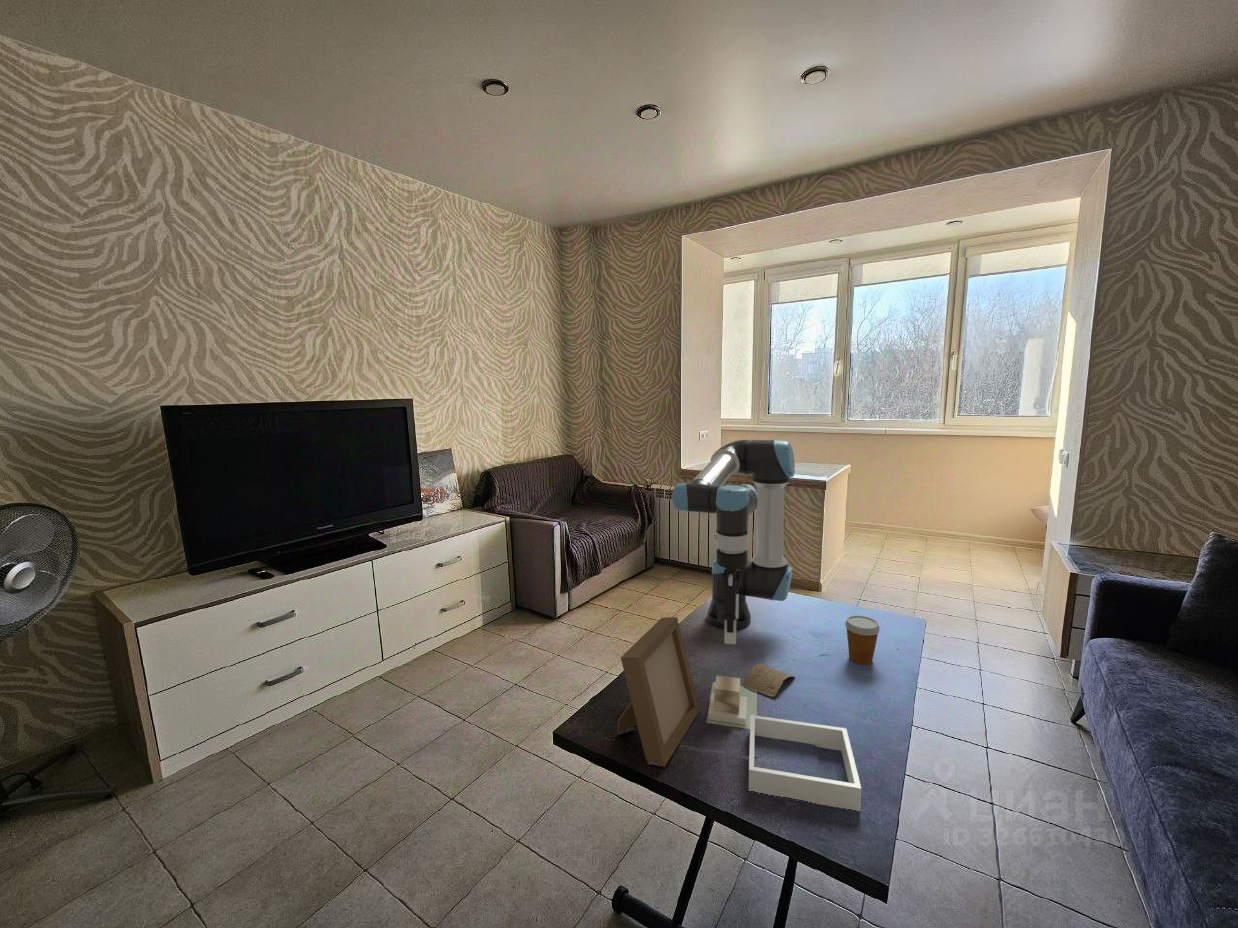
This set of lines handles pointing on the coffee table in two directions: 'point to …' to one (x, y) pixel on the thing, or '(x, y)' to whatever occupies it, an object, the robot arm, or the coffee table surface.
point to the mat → (750, 707)
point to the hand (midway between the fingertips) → (731, 629)
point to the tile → (729, 717)
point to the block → (727, 694)
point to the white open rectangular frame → (801, 784)
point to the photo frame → (659, 690)
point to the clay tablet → (764, 680)
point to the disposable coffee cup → (861, 638)
